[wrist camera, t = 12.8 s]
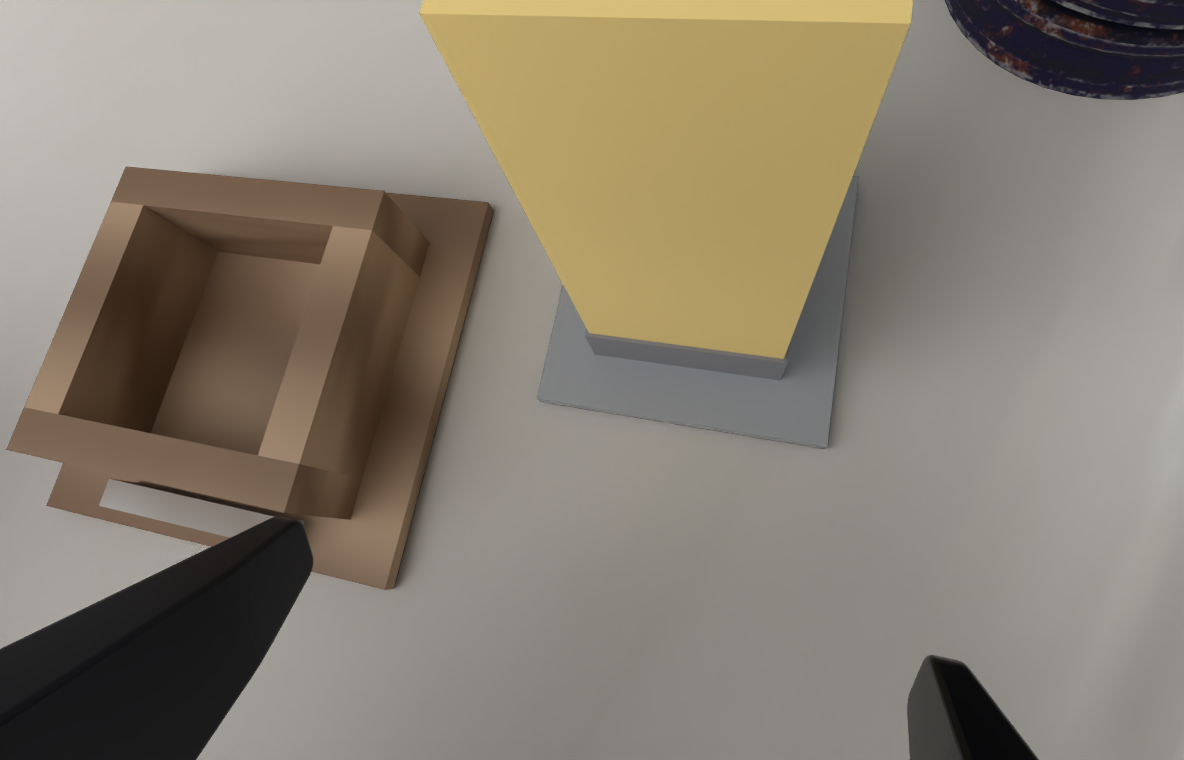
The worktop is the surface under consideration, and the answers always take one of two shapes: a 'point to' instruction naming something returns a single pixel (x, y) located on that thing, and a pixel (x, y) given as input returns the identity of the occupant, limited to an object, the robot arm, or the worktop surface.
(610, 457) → the worktop surface
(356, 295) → the socket
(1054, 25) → the storage jar
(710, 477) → the worktop surface
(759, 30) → the plug
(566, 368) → the stand
